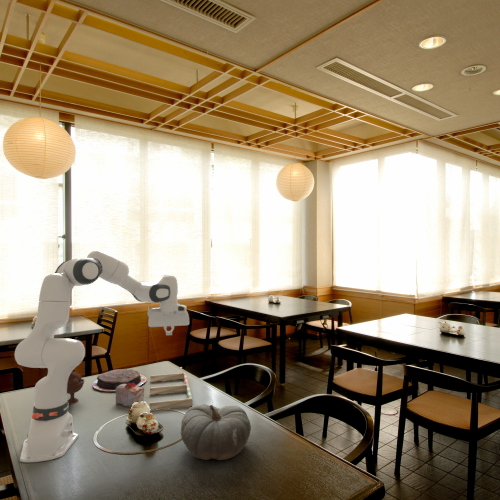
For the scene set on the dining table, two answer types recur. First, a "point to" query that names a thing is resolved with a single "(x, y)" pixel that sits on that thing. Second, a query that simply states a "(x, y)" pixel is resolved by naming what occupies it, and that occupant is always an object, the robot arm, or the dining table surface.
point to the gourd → (215, 431)
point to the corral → (170, 391)
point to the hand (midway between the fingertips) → (169, 335)
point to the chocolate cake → (118, 379)
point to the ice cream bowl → (74, 386)
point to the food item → (129, 394)
